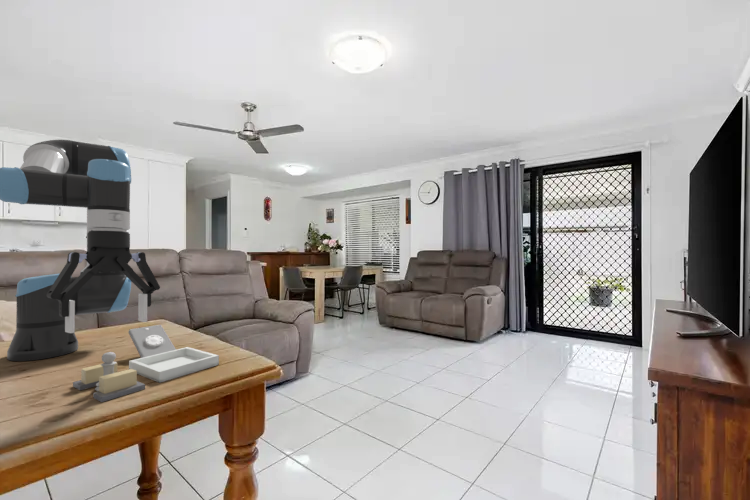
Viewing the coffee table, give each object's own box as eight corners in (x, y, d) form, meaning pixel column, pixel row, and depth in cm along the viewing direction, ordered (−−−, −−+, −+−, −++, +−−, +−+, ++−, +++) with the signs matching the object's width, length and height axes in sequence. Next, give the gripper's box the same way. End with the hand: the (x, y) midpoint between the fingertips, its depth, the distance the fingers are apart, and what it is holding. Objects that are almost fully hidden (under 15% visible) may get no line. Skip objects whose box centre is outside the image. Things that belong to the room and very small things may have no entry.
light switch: (146, 359, 92) (129, 326, 99) (142, 376, 93) (125, 343, 101) (180, 351, 98) (161, 321, 106) (175, 368, 100) (157, 337, 108)
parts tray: (129, 370, 88) (129, 360, 88) (187, 355, 100) (187, 346, 100) (159, 382, 80) (159, 371, 80) (218, 364, 92) (218, 355, 92)
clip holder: (72, 386, 77) (73, 368, 77) (114, 375, 84) (114, 359, 84) (101, 402, 69) (101, 382, 69) (145, 388, 76) (145, 370, 76)
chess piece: (92, 388, 76) (92, 352, 76) (117, 382, 80) (117, 347, 80) (98, 394, 74) (98, 356, 74) (125, 387, 77) (125, 351, 77)
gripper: (38, 226, 64) (38, 340, 64) (175, 232, 85) (175, 318, 85) (26, 228, 68) (25, 335, 68) (159, 233, 89) (159, 316, 89)
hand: (109, 326), depth 77 cm, fingers open, 13 cm apart
